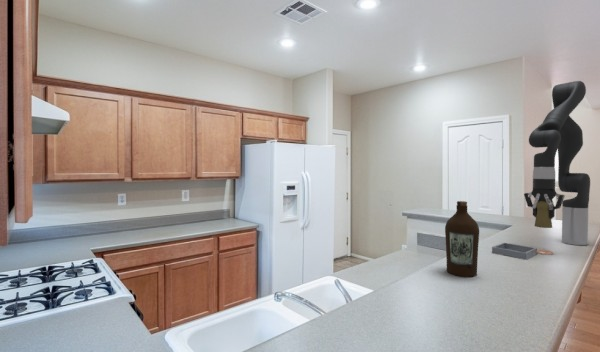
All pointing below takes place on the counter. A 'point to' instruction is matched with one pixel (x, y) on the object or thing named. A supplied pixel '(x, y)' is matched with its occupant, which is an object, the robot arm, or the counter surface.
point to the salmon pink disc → (544, 252)
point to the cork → (543, 215)
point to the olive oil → (462, 242)
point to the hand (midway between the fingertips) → (543, 217)
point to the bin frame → (504, 247)
